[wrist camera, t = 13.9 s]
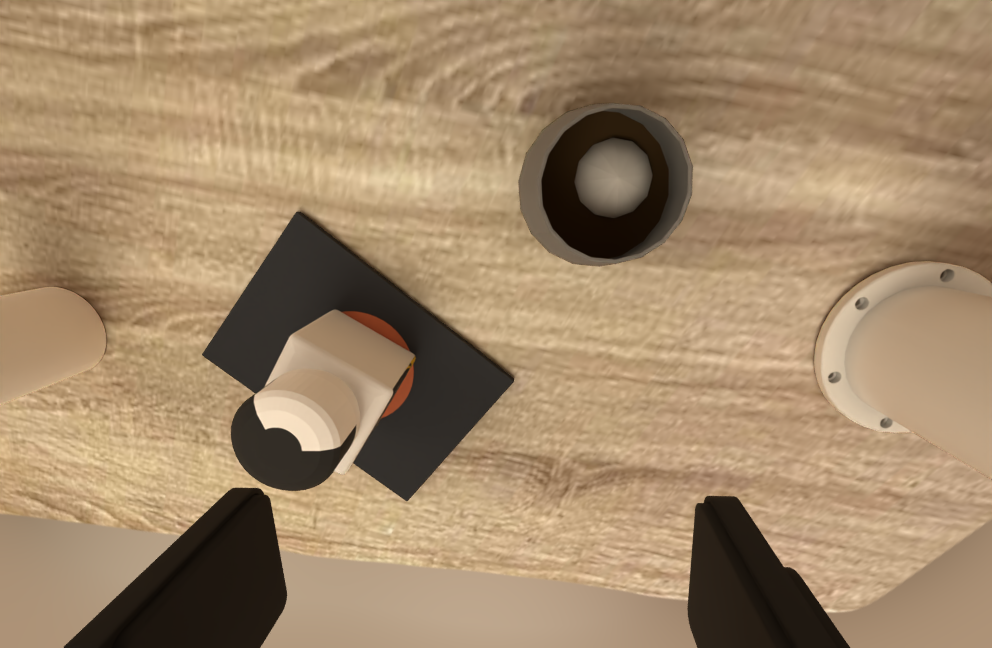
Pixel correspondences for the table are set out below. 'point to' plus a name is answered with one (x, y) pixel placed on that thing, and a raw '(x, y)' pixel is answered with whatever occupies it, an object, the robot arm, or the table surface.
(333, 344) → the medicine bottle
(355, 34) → the table surface
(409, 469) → the mat
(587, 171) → the cup
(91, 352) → the cylindrical container
